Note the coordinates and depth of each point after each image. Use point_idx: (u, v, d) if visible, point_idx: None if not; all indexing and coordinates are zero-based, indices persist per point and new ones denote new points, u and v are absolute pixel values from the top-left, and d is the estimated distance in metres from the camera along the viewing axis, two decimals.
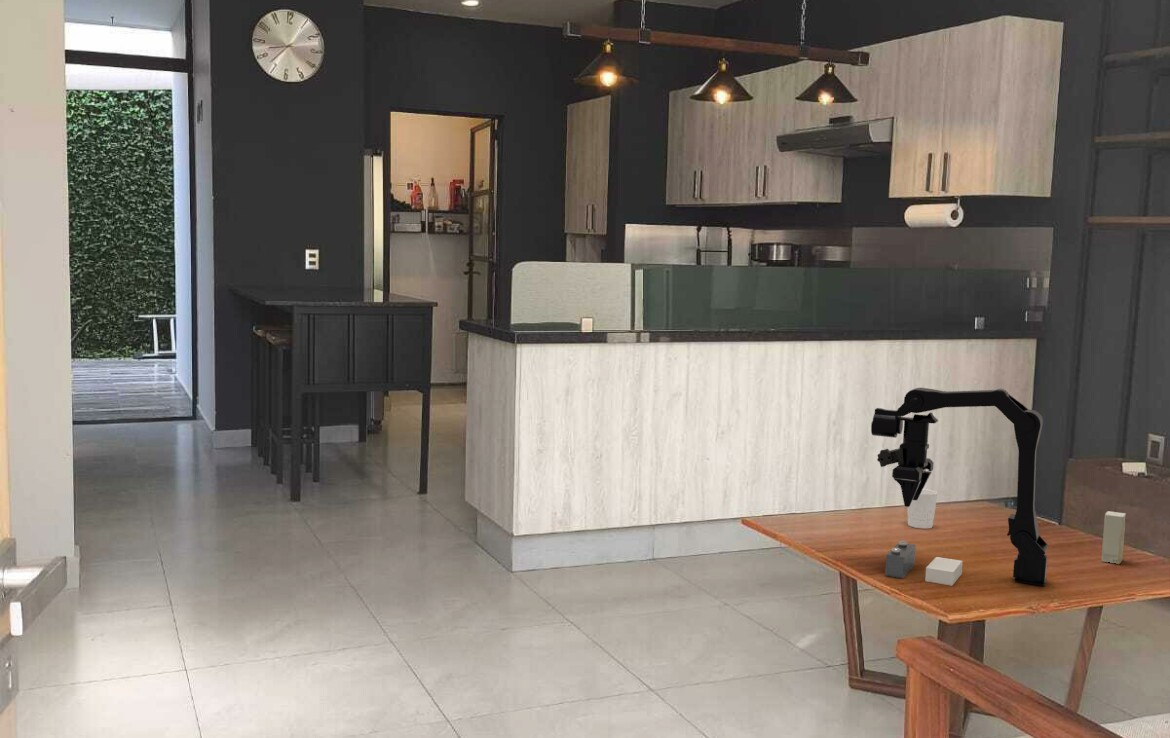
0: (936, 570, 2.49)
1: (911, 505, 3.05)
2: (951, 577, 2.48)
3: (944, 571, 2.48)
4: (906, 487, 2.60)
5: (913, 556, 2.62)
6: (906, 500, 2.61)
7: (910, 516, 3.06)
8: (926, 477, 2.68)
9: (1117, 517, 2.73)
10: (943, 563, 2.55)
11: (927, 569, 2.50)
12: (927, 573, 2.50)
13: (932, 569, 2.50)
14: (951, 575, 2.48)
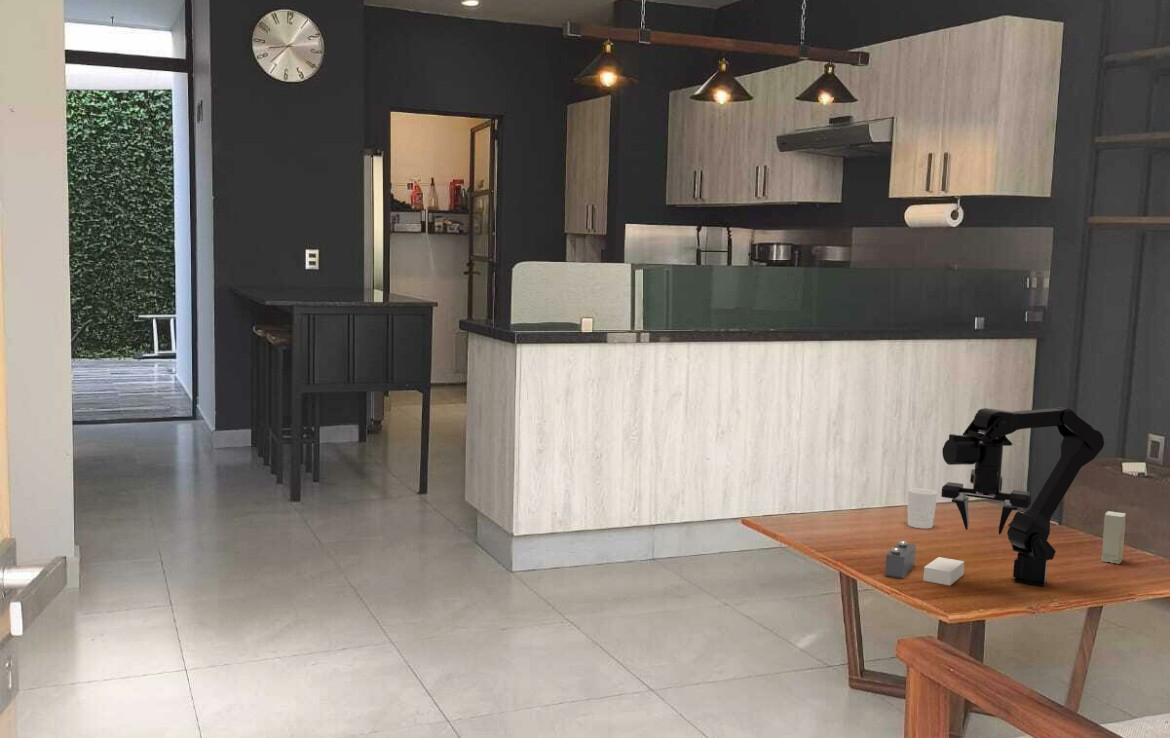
0: (934, 570, 2.49)
1: (911, 505, 3.05)
2: (949, 577, 2.48)
3: (942, 571, 2.48)
4: None
5: (913, 556, 2.62)
6: None
7: (910, 516, 3.06)
8: (1002, 510, 2.45)
9: (1117, 517, 2.73)
10: (943, 563, 2.55)
11: (925, 568, 2.50)
12: (925, 572, 2.50)
13: (930, 569, 2.50)
14: (949, 575, 2.48)
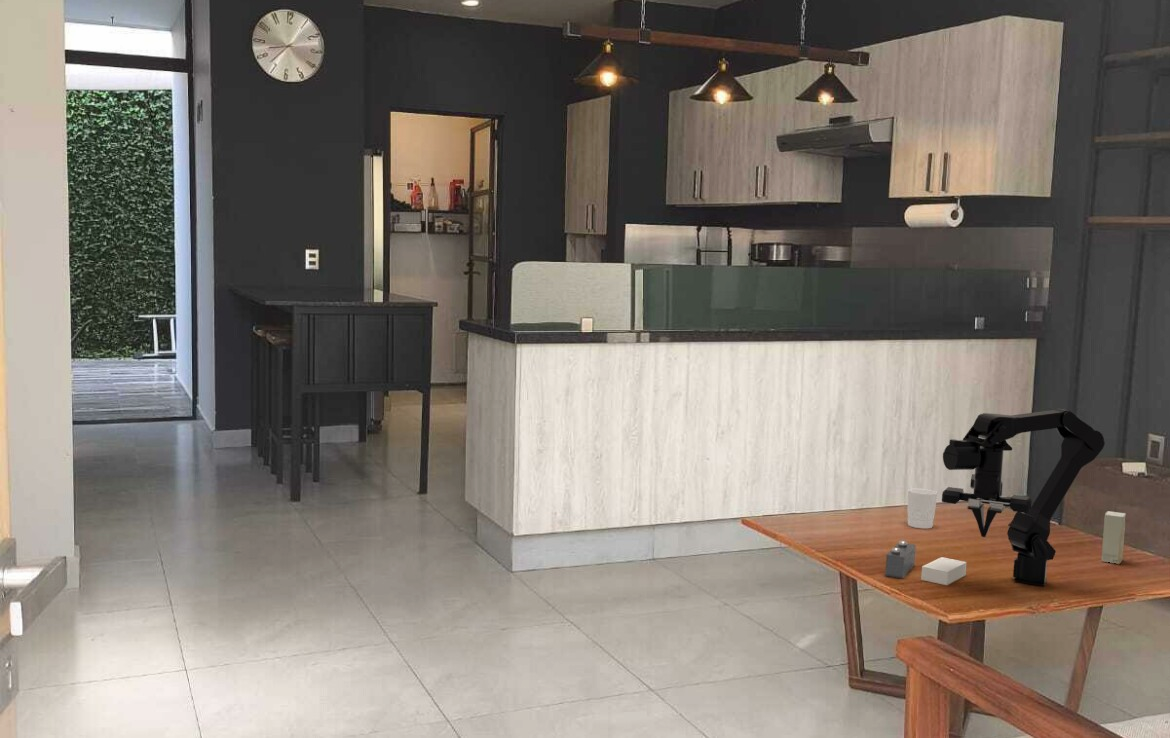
0: (931, 569, 2.50)
1: (911, 505, 3.05)
2: (946, 577, 2.48)
3: (939, 570, 2.49)
4: None
5: (913, 556, 2.62)
6: None
7: (910, 516, 3.06)
8: None
9: (1117, 517, 2.73)
10: (944, 563, 2.55)
11: (923, 568, 2.51)
12: (923, 572, 2.51)
13: (928, 568, 2.50)
14: (946, 575, 2.48)
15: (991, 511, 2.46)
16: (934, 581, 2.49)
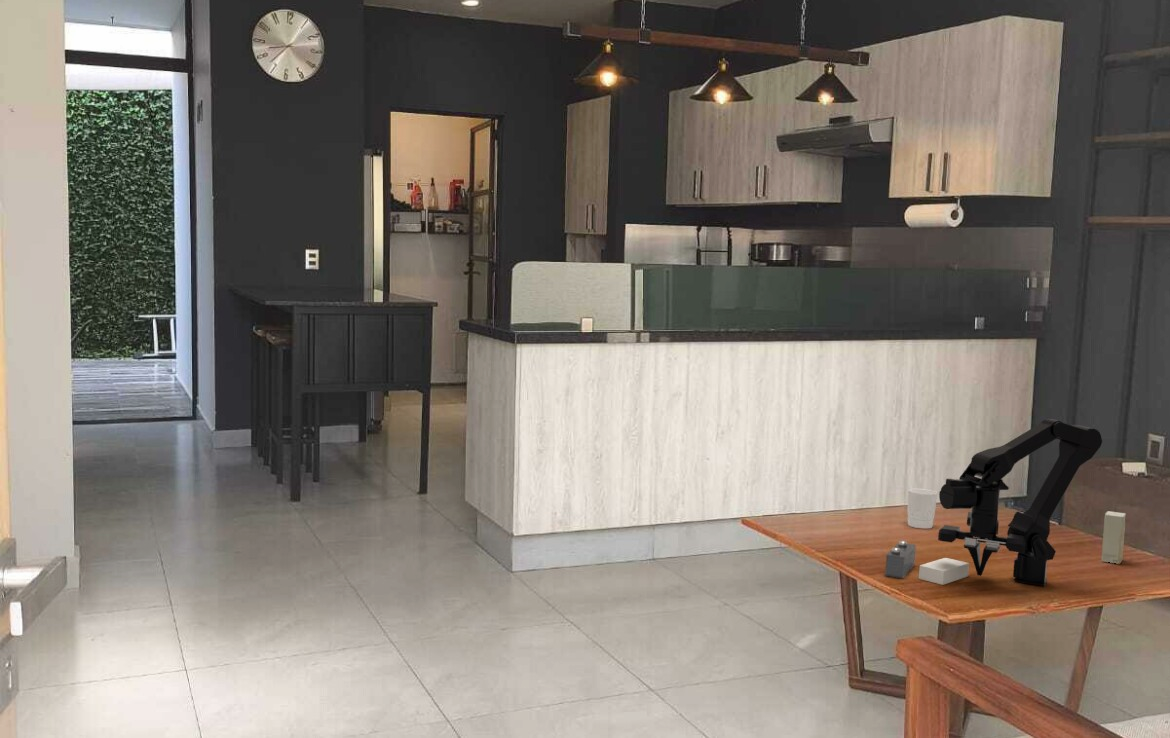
0: (928, 568, 2.50)
1: (911, 505, 3.05)
2: (942, 576, 2.48)
3: (935, 570, 2.49)
4: None
5: (913, 556, 2.62)
6: None
7: (910, 516, 3.06)
8: (983, 552, 2.48)
9: (1117, 517, 2.73)
10: (944, 563, 2.55)
11: (920, 567, 2.52)
12: (920, 571, 2.52)
13: (925, 567, 2.51)
14: (942, 574, 2.48)
15: (987, 550, 2.47)
16: (931, 580, 2.50)
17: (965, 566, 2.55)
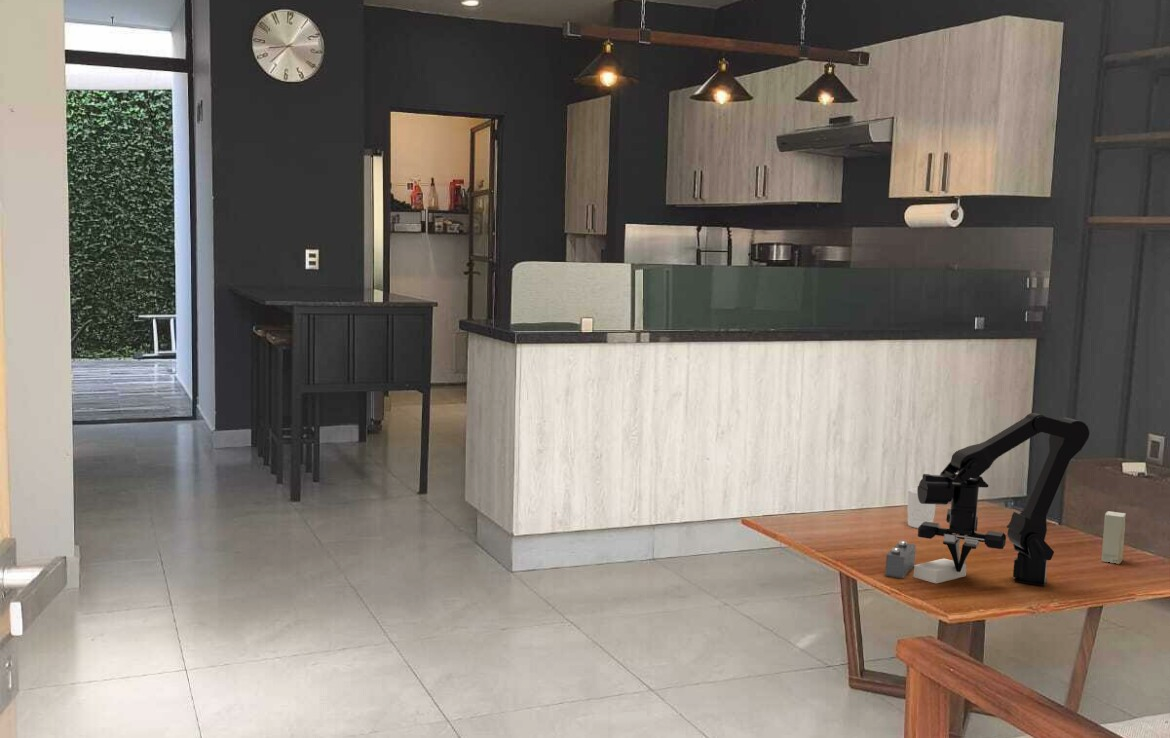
0: (922, 568, 2.51)
1: (911, 505, 3.05)
2: (935, 576, 2.49)
3: (929, 570, 2.50)
4: None
5: (913, 556, 2.62)
6: None
7: (910, 516, 3.06)
8: None
9: (1117, 517, 2.73)
10: (940, 563, 2.55)
11: (915, 567, 2.53)
12: (915, 570, 2.53)
13: (919, 567, 2.52)
14: (935, 574, 2.49)
15: (966, 547, 2.49)
16: (925, 580, 2.51)
17: (962, 567, 2.55)
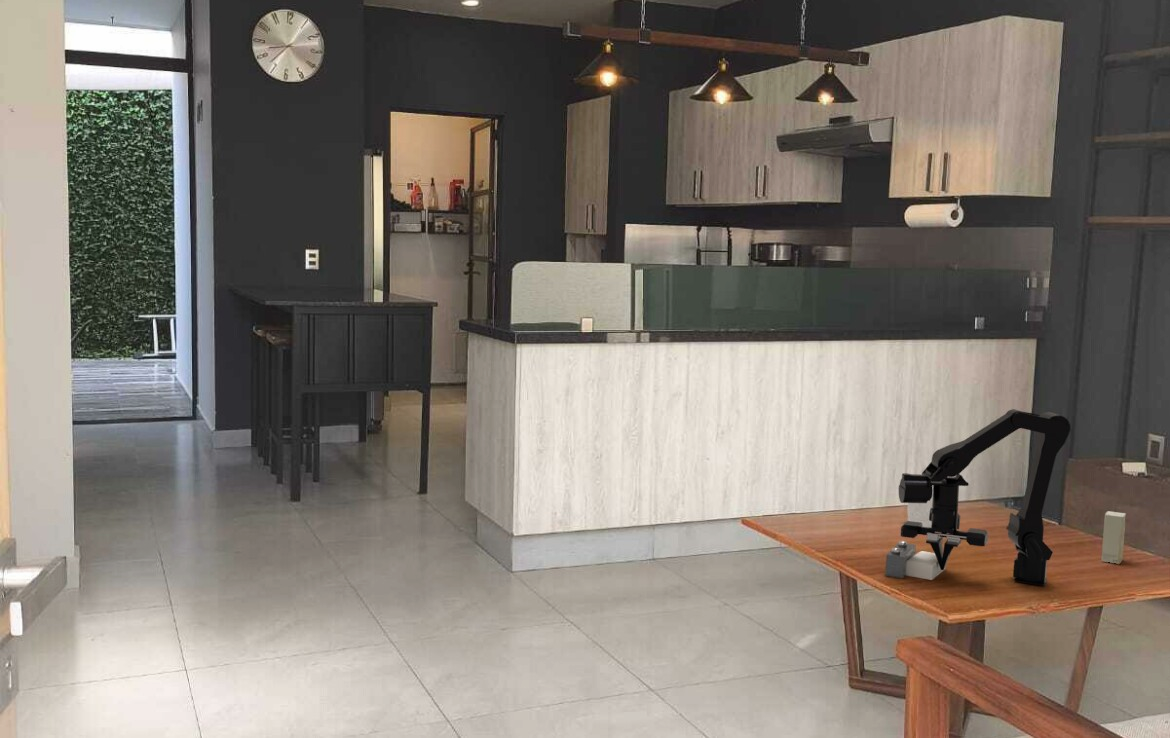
0: (916, 563, 2.53)
1: (911, 505, 3.05)
2: (931, 570, 2.52)
3: (924, 564, 2.52)
4: None
5: None
6: None
7: (910, 516, 3.06)
8: (944, 547, 2.52)
9: (1117, 517, 2.73)
10: (925, 557, 2.59)
11: (908, 562, 2.54)
12: (908, 566, 2.54)
13: (912, 562, 2.54)
14: (931, 568, 2.52)
15: (948, 545, 2.51)
16: (919, 575, 2.53)
17: None
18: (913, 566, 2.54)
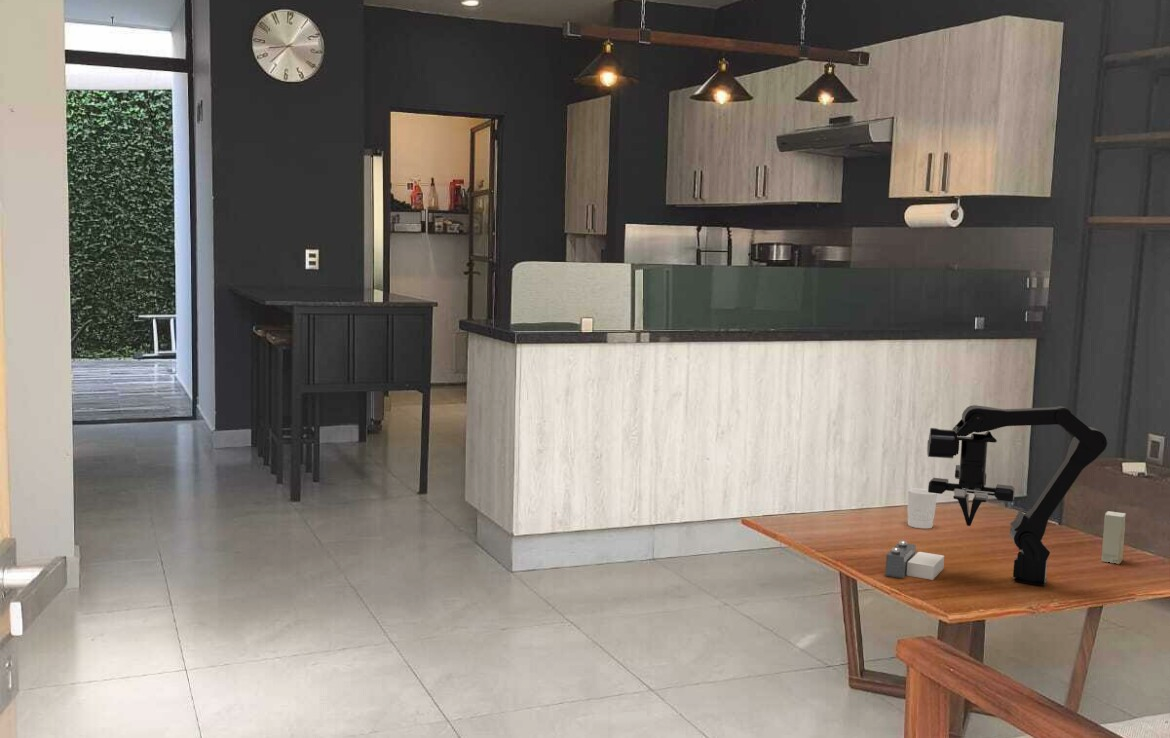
0: (917, 564, 2.53)
1: (911, 505, 3.05)
2: (932, 571, 2.52)
3: (925, 565, 2.52)
4: None
5: (913, 556, 2.62)
6: None
7: (910, 516, 3.06)
8: (972, 502, 2.53)
9: (1117, 517, 2.73)
10: (925, 558, 2.59)
11: (908, 563, 2.54)
12: (908, 567, 2.54)
13: (913, 563, 2.54)
14: (932, 569, 2.52)
15: (976, 500, 2.52)
16: (920, 576, 2.53)
17: (942, 559, 2.60)
18: (914, 567, 2.54)
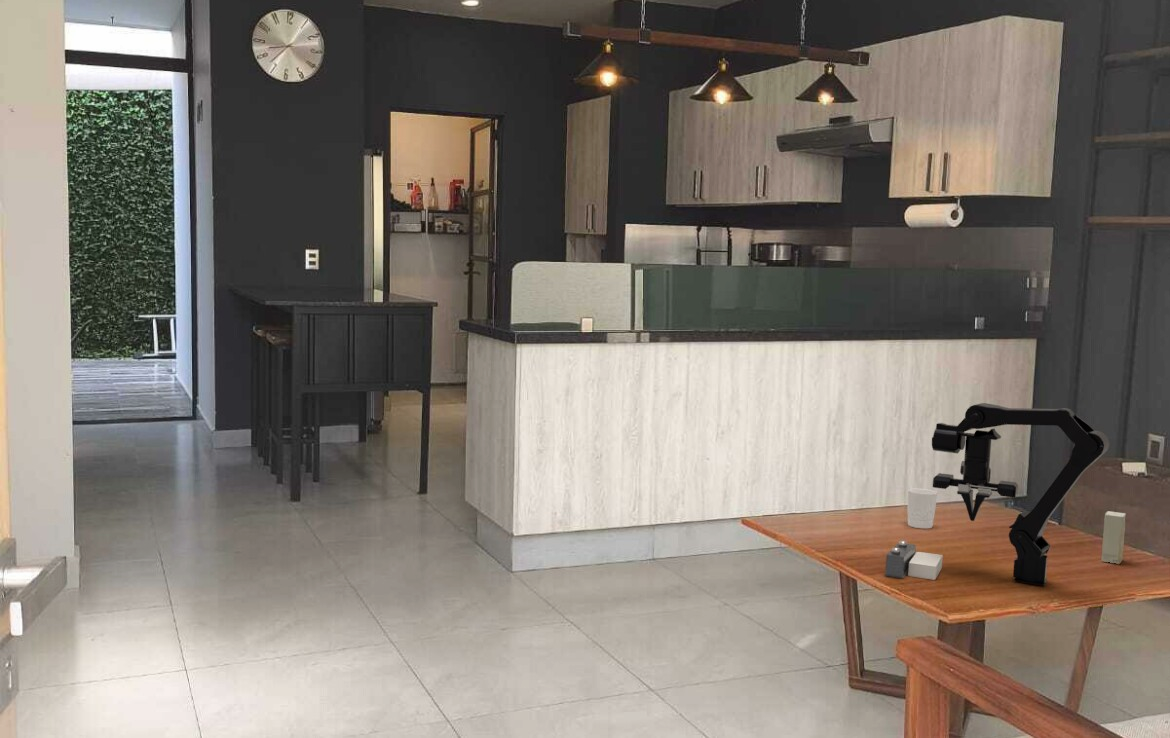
0: (919, 565, 2.53)
1: (911, 505, 3.05)
2: (934, 571, 2.52)
3: (927, 566, 2.52)
4: None
5: None
6: None
7: (910, 516, 3.06)
8: (975, 498, 2.58)
9: (1117, 517, 2.73)
10: (924, 558, 2.59)
11: (910, 564, 2.54)
12: (910, 568, 2.54)
13: (915, 564, 2.54)
14: (934, 569, 2.52)
15: (979, 496, 2.57)
16: (922, 576, 2.53)
17: (941, 558, 2.61)
18: (916, 568, 2.53)
